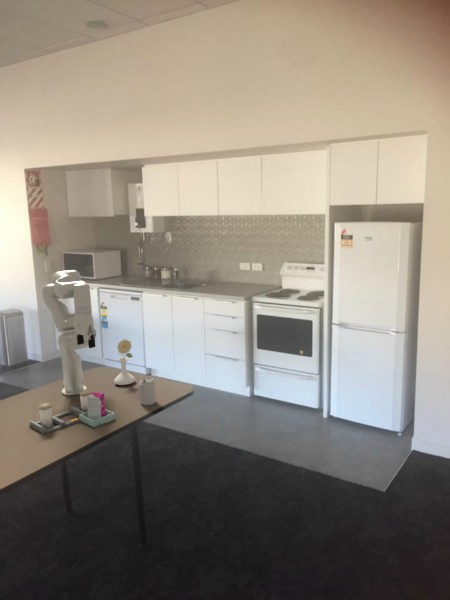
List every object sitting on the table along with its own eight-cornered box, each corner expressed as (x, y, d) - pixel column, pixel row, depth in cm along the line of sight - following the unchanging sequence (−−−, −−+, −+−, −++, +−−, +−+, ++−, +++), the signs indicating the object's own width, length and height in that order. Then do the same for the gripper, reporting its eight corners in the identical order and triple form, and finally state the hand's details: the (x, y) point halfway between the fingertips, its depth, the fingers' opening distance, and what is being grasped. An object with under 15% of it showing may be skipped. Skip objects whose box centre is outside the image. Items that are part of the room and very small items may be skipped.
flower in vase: (109, 384, 272) (106, 339, 267) (125, 378, 281) (122, 334, 276) (126, 389, 264) (122, 342, 259) (142, 382, 273) (139, 337, 268)
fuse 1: (38, 427, 221) (36, 405, 219) (49, 423, 224) (47, 402, 223) (44, 430, 217) (42, 408, 215) (55, 426, 221) (53, 404, 219)
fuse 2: (79, 412, 235) (77, 392, 233) (89, 409, 239) (87, 389, 237) (85, 415, 231) (83, 394, 230) (95, 411, 235) (93, 391, 233)
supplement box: (100, 422, 222) (98, 397, 220) (88, 421, 224) (86, 396, 222) (106, 416, 228) (104, 392, 226) (94, 415, 229) (92, 392, 227)
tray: (79, 420, 226) (78, 414, 225) (100, 413, 234) (100, 406, 233) (93, 427, 218) (92, 421, 218) (115, 419, 226) (114, 413, 226)
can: (141, 400, 247) (139, 377, 245) (156, 399, 247) (155, 376, 245) (139, 406, 240) (138, 382, 237) (155, 405, 240) (154, 381, 238)
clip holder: (29, 426, 222) (28, 421, 221) (89, 405, 243) (88, 400, 243) (43, 434, 213) (42, 429, 212) (104, 412, 234) (103, 407, 234)
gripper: (66, 309, 236) (69, 344, 239) (86, 313, 224) (89, 350, 227) (80, 306, 241) (83, 341, 244) (100, 310, 230) (103, 347, 233)
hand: (86, 345), depth 236 cm, fingers open, 9 cm apart
